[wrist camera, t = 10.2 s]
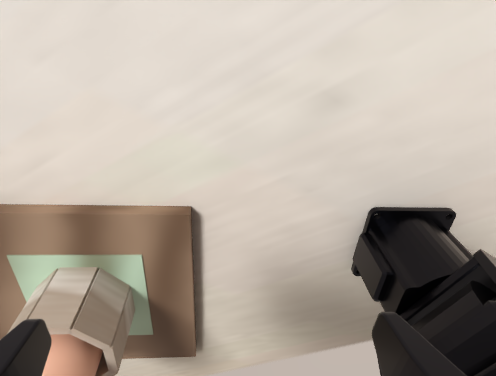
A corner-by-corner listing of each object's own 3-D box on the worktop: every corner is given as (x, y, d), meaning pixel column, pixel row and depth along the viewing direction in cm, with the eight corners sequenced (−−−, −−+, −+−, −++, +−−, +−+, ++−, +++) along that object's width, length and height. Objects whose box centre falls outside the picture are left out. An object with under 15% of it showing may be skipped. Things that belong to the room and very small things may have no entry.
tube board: (191, 206, 22) (181, 269, 17) (196, 346, 30) (191, 417, 25) (-59, 203, 21) (-151, 272, 16) (17, 351, 29) (-27, 427, 24)
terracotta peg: (111, 278, 24) (58, 415, 16) (124, 317, 26) (82, 453, 18) (50, 282, 23) (-34, 422, 16) (68, 320, 26) (2, 459, 18)
